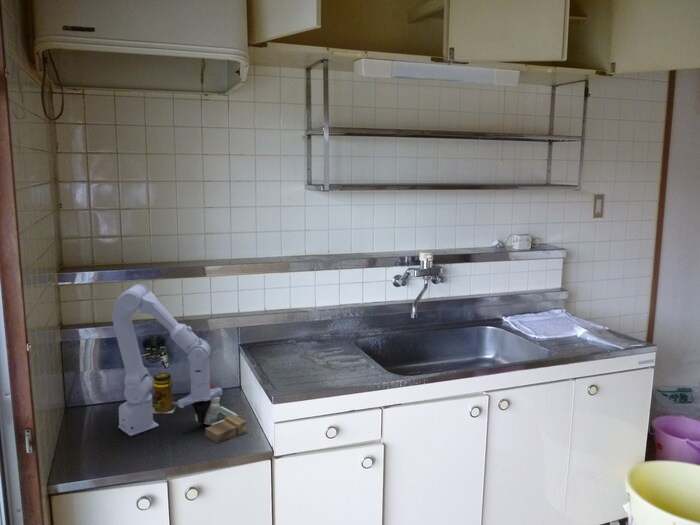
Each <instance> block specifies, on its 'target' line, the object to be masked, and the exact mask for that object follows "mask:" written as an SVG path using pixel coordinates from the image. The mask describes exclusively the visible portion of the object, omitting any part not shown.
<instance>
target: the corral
mask: <svg viewBox="0 0 700 525" xmlns="http://www.w3.org/2000/svg"><path fill="white" fill-rule="evenodd" d="M220 414H222V415H224V417H227V416H229V415H232V414H233V415H235V416H237V417H239V416H240V415H239V414H238V413H235V412H233V410H232V411H231V410H229V409H228V408H226V407H224V406H223V405H220V407H219V411H218V415H220ZM239 418H240V417H239ZM195 421H196V422H198V418H197V414H195ZM223 421H225V418H224V419H222V420H219V421H218V420H217V421H216V423H213V424H212V425H215V424H218V423H220V422H223ZM212 425H211V426H212Z"/></svg>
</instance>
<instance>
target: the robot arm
mask: <svg viewBox="0 0 700 525" xmlns="http://www.w3.org/2000/svg"><path fill="white" fill-rule="evenodd" d="M137 311H138V313H139V314H149V315H151V316H152V317H153V318H154V319H156V321H158V322H159V323H160V324H161V325H162V326H164V328H165V329H167V330H168V331H169V332H170V339H171V340H172V341H173V342H175V344H176V345H178V347H179V348H180V349H181V350H182V351H184V353H185V354H187V360H188V361H189V363H190V367H189V368H190V369H189V370H190V373H189V374H190V393H189V394H188V395H185V396H184V397H183V398H181V399H178V400H177V402H178V405H177V407H178V408H180V409H182V408H183V409H184V408H185V406H189V405H191V406H192V408H193V410H194V411H195V415H197V418H198V421H197V422H198V423H199V424H203V425H204V419H205V416H206V413H207V410H208V408H209V406H210V405H211V401H210V398H211V397H214V396H219V397H221V396H223V389H222V388H221V387H215V388H214V389H210V384H211V374H210V372H211V370H210V369H211V368H210V355H211V351H212V348H211V345H210V344H209V341H206V340H204V339H203V338H201V337H200V338H199V337H198V336H197V335H196V334H195V333H194V332H193V330H192V329H193V328H192V327H191V326H190V325H188V326H187V324H186V323H179V322H178V321H177V319H175V317H173V315H172V314H171V313H170V312H169V311H168V310H167V308H166V307H165V306H164V305H163V304H162V303H161V302H160V301H159V299H157V297H156V295H155V294H154V293H153V292H152V291H151V290H149V289H148V288H147V286H145V285H144V284H141V283H138V284H134V285H132V286H131V287H129V289H127V290H126V291H124V292H122V293H120V295H119V296H118V297H117V298H116V299H115V304H114V308H113V312H112V314H111V320H112V324H113V328H114V332H115V336H116V340H117V343H118V344H117V345H118V348H119V350H120V355H121V359H122V364H123V367H124V370H125V376H124V391H123V393H124V394H123V395H124V398H125V400H126V401H125V402H123V403H121V404H120V405H119V406H118V424H119V425H118V428H119V429H120V430H121V431H122V432H124V433H125V434H127V435H128V436H129V437H131V436H135V435H138V434H140V433H143V432H146V431H149V430H152V429H154V428H157V427H159V426H160V424H159V423H158V422H156V421H154V413H153V408H154V404H153V395H152V392H151V391H152V389H153V386H154V377H152V376H151V375H150V373H149V369H148V368H147V367H145V366H144V361H143V358H142V355H141V350H140V345H139V342H138V338H137V335H136V331H135V328H134V324H133V316H134V315H135V313H136V312H137Z"/></svg>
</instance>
